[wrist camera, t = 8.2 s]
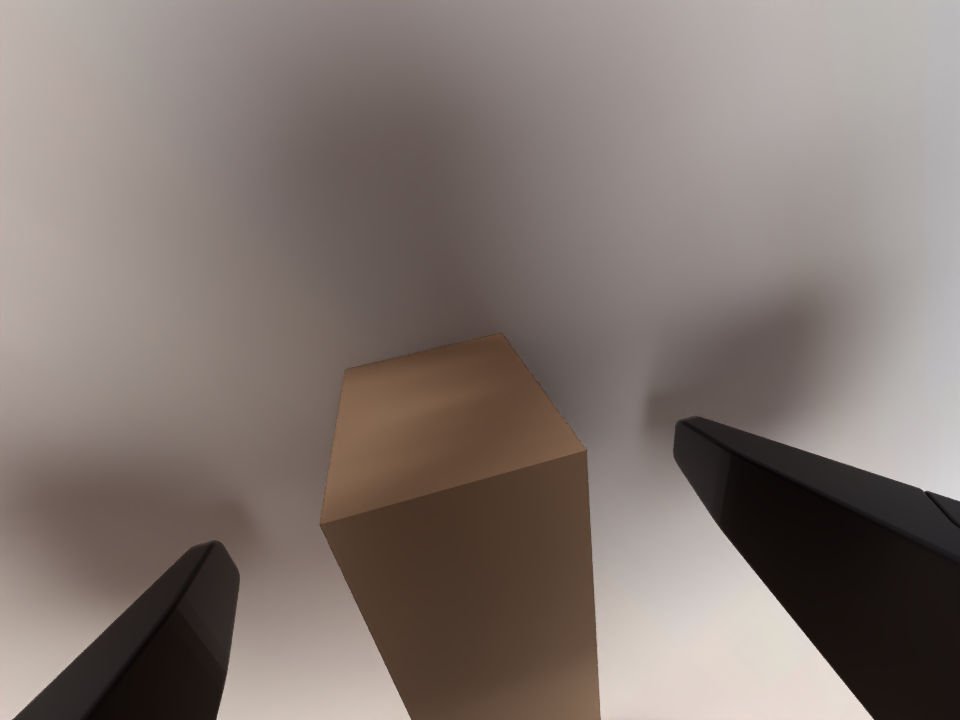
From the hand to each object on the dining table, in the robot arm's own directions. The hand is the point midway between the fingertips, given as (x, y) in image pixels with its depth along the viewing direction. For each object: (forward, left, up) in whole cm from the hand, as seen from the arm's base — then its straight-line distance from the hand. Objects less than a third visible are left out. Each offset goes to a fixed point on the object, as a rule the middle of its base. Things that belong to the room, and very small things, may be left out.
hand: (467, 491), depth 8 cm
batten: (0, +6, -1) cm, 6 cm away
